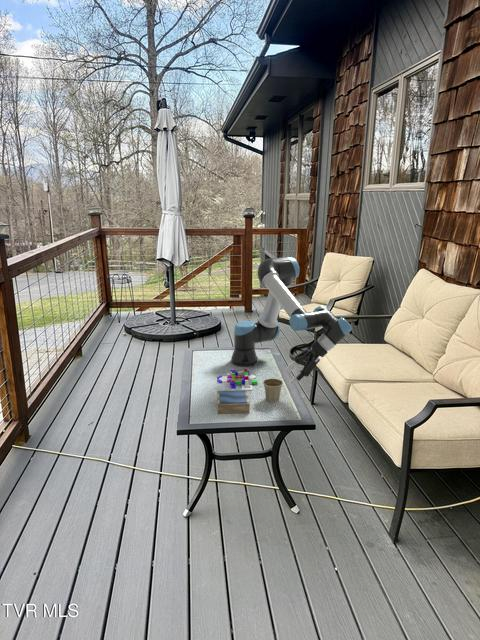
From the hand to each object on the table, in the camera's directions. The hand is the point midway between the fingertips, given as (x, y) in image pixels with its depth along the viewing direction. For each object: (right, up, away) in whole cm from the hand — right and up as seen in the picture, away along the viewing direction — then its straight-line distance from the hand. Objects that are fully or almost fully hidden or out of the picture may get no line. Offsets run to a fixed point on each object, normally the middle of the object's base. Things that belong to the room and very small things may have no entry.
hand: (288, 377), depth 196 cm
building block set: (-24, -5, +24) cm, 35 cm away
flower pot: (-7, -11, +3) cm, 14 cm away
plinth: (-26, -13, -4) cm, 29 cm away
